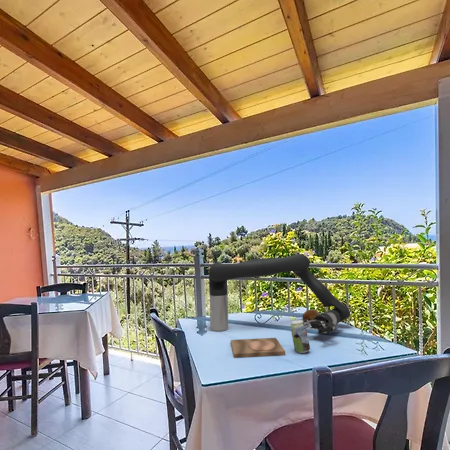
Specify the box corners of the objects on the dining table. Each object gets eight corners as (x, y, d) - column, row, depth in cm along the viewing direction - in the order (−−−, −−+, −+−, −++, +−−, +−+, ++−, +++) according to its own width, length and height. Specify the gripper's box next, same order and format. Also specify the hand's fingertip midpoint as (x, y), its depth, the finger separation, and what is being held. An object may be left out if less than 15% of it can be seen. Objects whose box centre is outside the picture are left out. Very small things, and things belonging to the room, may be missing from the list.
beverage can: (310, 354, 118) (309, 323, 119) (291, 354, 120) (290, 323, 120) (309, 349, 125) (308, 319, 125) (291, 348, 126) (290, 318, 126)
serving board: (234, 357, 118) (233, 353, 118) (230, 343, 134) (230, 339, 134) (285, 355, 119) (285, 350, 119) (276, 341, 135) (275, 337, 135)
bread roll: (322, 327, 165) (321, 312, 169) (321, 323, 157) (321, 307, 160) (303, 325, 169) (303, 311, 172) (301, 322, 160) (301, 306, 163)
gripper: (310, 310, 146) (294, 318, 134) (340, 315, 136) (325, 323, 124) (311, 326, 146) (294, 335, 133) (341, 332, 136) (326, 342, 124)
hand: (309, 329), depth 129 cm, fingers open, 8 cm apart
